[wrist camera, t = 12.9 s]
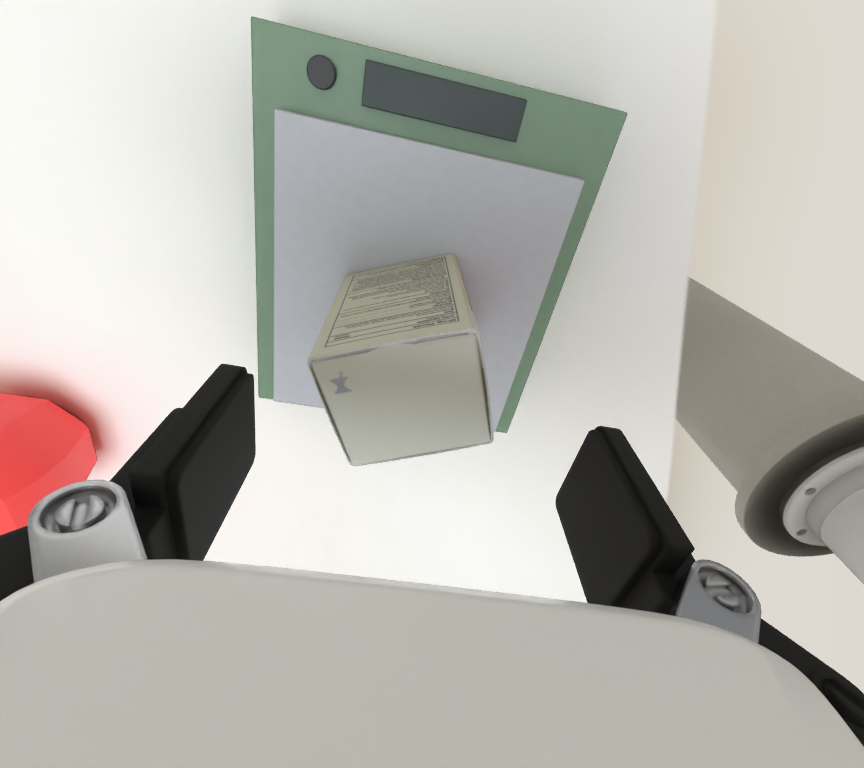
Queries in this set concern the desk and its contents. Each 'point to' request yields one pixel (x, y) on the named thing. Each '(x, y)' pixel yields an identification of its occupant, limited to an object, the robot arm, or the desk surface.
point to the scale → (412, 194)
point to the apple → (38, 455)
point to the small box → (403, 364)
